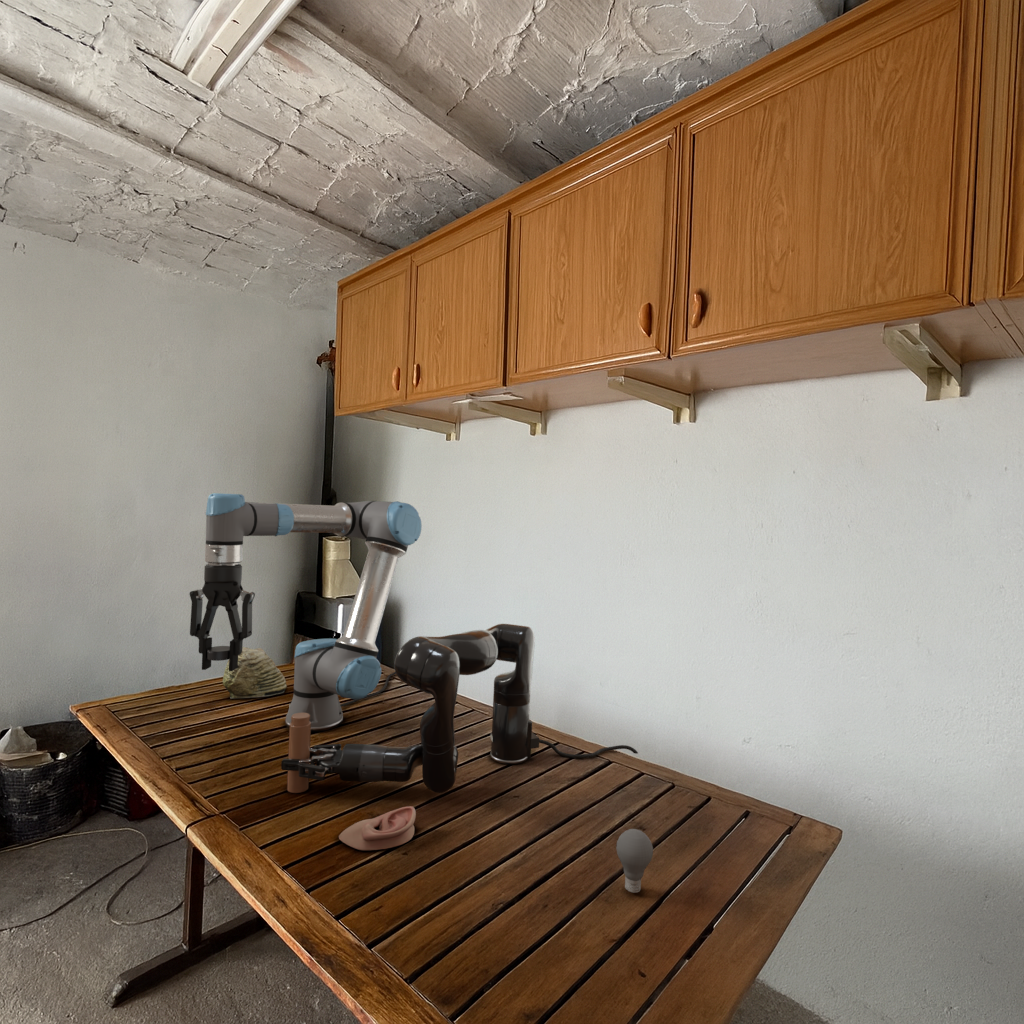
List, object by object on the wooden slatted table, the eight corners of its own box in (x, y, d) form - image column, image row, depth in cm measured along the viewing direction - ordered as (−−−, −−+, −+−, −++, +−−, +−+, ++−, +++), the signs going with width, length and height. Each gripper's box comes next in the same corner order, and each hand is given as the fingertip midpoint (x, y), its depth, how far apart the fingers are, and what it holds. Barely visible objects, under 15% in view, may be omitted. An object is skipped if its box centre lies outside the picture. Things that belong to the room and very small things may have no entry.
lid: (204, 660, 136) (204, 651, 136) (210, 654, 141) (210, 645, 141) (230, 660, 137) (230, 651, 137) (235, 654, 143) (235, 645, 142)
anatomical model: (331, 824, 115) (359, 795, 126) (330, 845, 115) (358, 815, 126) (400, 835, 112) (422, 805, 124) (399, 857, 112) (421, 825, 124)
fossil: (218, 695, 195) (220, 647, 195) (278, 685, 208) (279, 640, 207) (228, 703, 189) (230, 653, 188) (289, 692, 201) (290, 645, 201)
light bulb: (610, 879, 108) (613, 822, 108) (644, 879, 109) (647, 822, 109) (619, 902, 102) (622, 840, 102) (655, 901, 103) (658, 840, 103)
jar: (288, 794, 134) (291, 719, 134) (285, 785, 138) (288, 713, 138) (310, 790, 136) (313, 717, 136) (306, 782, 140) (309, 710, 140)
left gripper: (173, 563, 135) (169, 671, 136) (258, 567, 135) (254, 675, 136) (191, 560, 143) (187, 662, 143) (271, 563, 143) (267, 666, 143)
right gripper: (372, 733, 144) (297, 730, 144) (357, 759, 130) (274, 755, 130) (371, 766, 144) (296, 762, 144) (356, 795, 130) (273, 791, 130)
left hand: (219, 668), depth 139 cm, fingers closed on lid, 5 cm apart
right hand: (286, 759), depth 137 cm, fingers closed on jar, 4 cm apart
